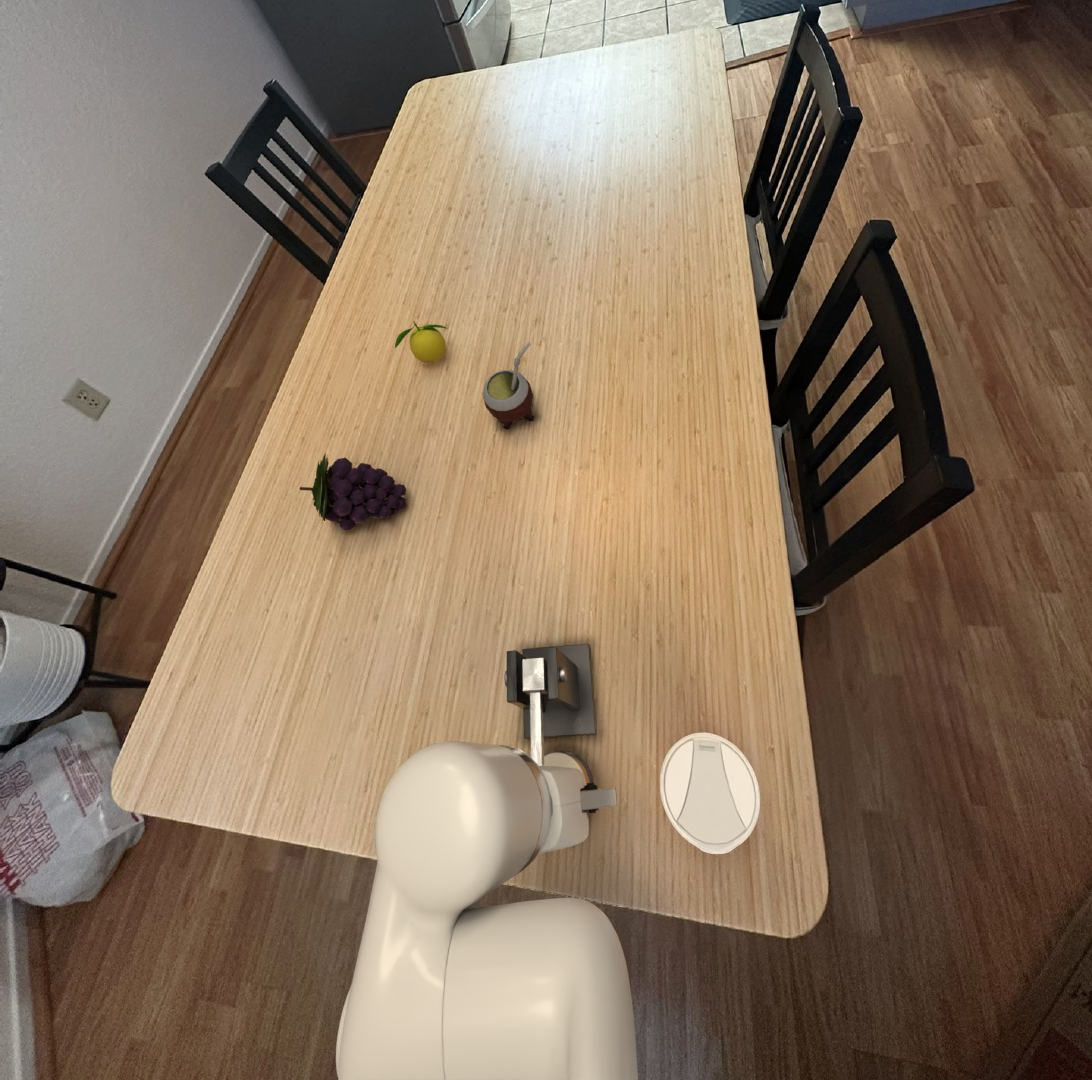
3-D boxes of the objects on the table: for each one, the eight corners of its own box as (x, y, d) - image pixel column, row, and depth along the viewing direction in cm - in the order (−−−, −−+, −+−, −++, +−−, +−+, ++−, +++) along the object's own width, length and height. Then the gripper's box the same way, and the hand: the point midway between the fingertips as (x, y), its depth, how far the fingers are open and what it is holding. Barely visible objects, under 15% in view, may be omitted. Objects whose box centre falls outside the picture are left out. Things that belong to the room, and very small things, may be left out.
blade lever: (569, 811, 54) (564, 810, 52) (513, 813, 55) (507, 813, 53) (562, 661, 62) (558, 656, 60) (513, 665, 62) (507, 660, 60)
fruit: (408, 534, 88) (302, 534, 87) (414, 462, 93) (313, 461, 92) (397, 523, 79) (278, 522, 78) (404, 443, 83) (292, 442, 82)
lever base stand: (597, 734, 68) (576, 726, 56) (526, 738, 69) (490, 732, 57) (590, 645, 73) (569, 620, 61) (524, 650, 74) (491, 627, 62)
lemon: (411, 371, 101) (386, 336, 93) (422, 342, 104) (399, 305, 96) (448, 375, 99) (426, 339, 91) (459, 345, 102) (438, 308, 94)
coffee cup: (664, 735, 66) (658, 727, 54) (744, 742, 65) (756, 736, 52) (666, 833, 62) (660, 849, 49) (752, 844, 60) (767, 862, 48)
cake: (596, 822, 63) (590, 825, 60) (535, 825, 64) (526, 828, 61) (590, 748, 67) (585, 747, 64) (533, 752, 68) (525, 751, 64)
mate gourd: (485, 422, 92) (453, 370, 80) (511, 381, 96) (485, 325, 84) (526, 441, 89) (500, 389, 77) (552, 398, 93) (531, 341, 80)
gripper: (369, 885, 41) (455, 852, 56) (625, 878, 39) (643, 845, 53) (381, 751, 45) (458, 754, 60) (612, 737, 43) (632, 743, 58)
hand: (544, 797), depth 57 cm, fingers closed on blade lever, 5 cm apart
